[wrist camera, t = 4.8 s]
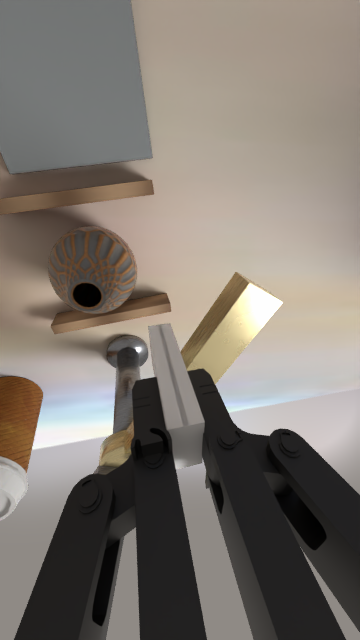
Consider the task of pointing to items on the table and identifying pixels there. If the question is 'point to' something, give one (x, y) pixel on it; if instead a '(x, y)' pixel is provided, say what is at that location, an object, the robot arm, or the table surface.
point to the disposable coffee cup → (16, 437)
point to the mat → (70, 85)
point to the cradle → (82, 196)
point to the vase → (92, 270)
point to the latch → (209, 348)
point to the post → (125, 375)
